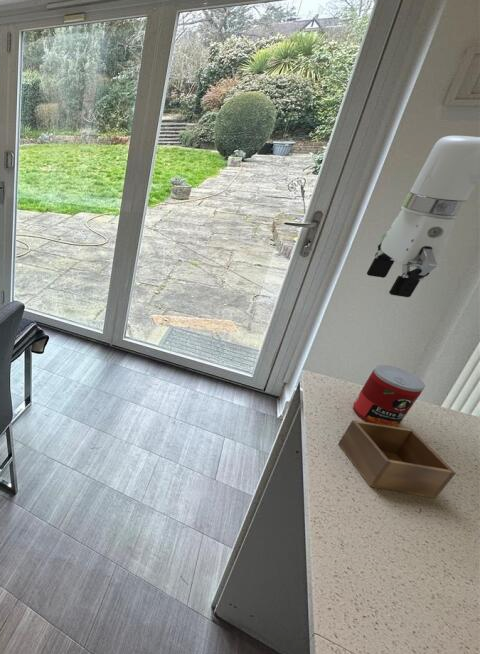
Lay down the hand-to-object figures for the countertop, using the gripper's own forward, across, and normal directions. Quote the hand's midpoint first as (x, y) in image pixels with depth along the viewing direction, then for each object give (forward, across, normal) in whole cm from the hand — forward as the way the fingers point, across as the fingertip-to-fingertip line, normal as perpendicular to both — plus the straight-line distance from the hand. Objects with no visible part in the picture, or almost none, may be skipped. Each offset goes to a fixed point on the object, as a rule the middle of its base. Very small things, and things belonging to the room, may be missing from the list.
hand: (386, 285), depth 85 cm
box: (+27, -25, 0) cm, 37 cm away
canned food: (+28, -8, -6) cm, 29 cm away
